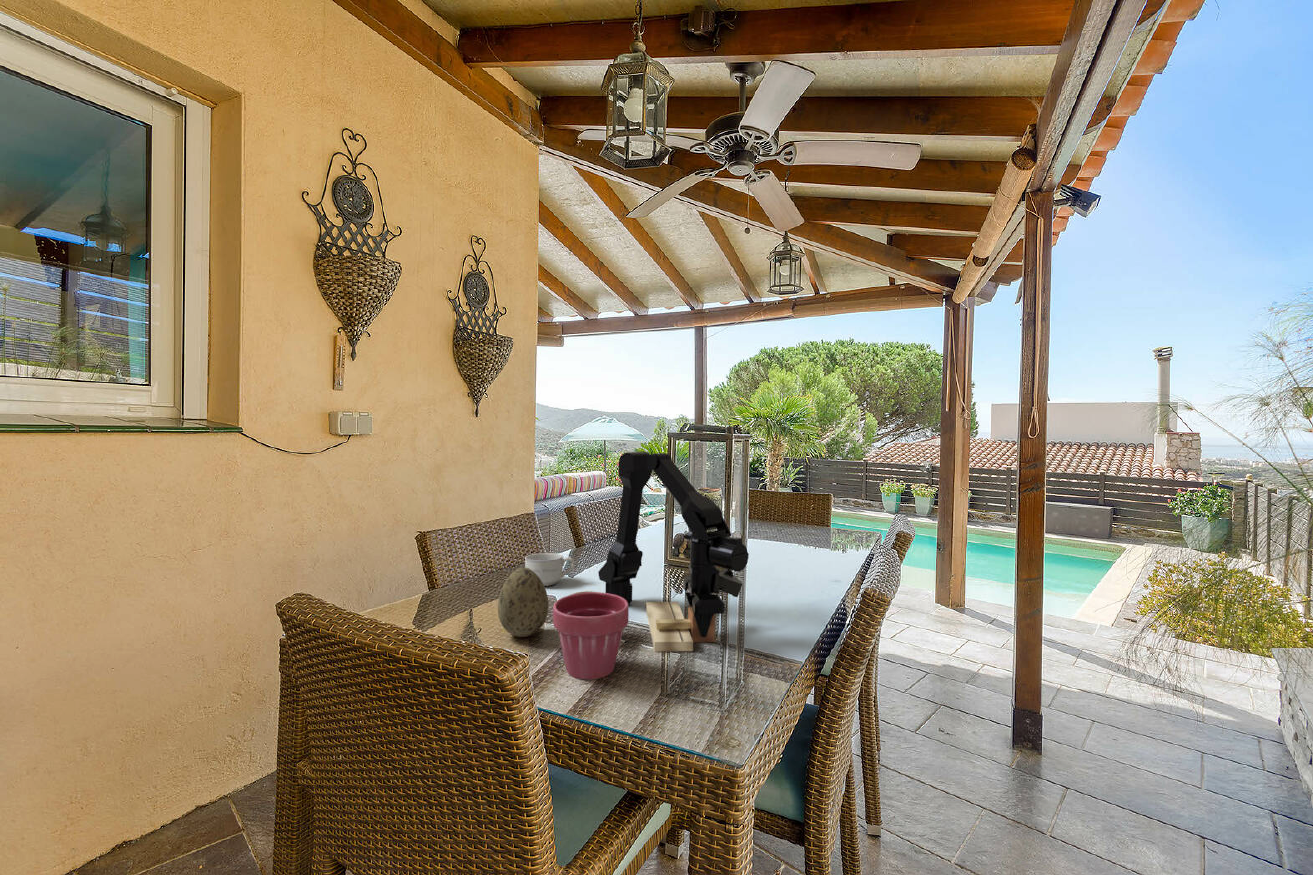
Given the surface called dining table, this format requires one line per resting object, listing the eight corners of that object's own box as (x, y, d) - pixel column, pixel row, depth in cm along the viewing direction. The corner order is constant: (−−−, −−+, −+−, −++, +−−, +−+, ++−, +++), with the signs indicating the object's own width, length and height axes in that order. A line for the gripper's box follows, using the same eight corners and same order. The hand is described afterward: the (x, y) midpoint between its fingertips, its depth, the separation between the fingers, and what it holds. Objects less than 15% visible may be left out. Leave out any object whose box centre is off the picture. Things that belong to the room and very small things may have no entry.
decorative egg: (487, 640, 122) (487, 570, 121) (517, 623, 132) (517, 559, 131) (529, 649, 118) (530, 577, 117) (557, 631, 128) (558, 564, 127)
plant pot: (562, 692, 100) (563, 620, 100) (544, 660, 113) (545, 596, 113) (638, 679, 106) (639, 610, 105) (613, 649, 119) (614, 588, 118)
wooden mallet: (657, 643, 122) (658, 616, 122) (654, 634, 127) (655, 608, 127) (714, 641, 124) (715, 614, 124) (709, 632, 129) (710, 606, 129)
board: (654, 651, 118) (654, 641, 118) (645, 609, 143) (646, 601, 143) (692, 651, 119) (693, 641, 119) (677, 609, 144) (677, 601, 144)
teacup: (518, 587, 159) (518, 559, 159) (533, 576, 170) (533, 550, 169) (566, 591, 157) (567, 562, 156) (578, 580, 167) (579, 552, 167)
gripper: (750, 573, 117) (748, 648, 117) (730, 551, 135) (728, 616, 136) (695, 573, 116) (694, 649, 117) (683, 551, 135) (682, 617, 135)
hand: (701, 632), depth 126 cm, fingers closed on wooden mallet, 5 cm apart
